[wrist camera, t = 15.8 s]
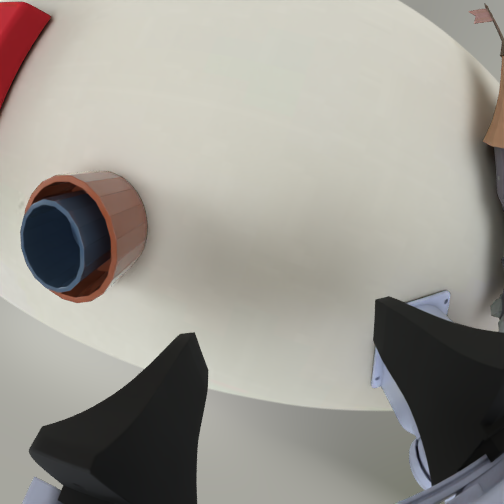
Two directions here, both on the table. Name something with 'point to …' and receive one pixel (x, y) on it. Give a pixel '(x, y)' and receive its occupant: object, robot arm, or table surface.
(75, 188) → the terracotta tumbler
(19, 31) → the red flat box
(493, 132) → the model tower
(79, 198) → the blue cup
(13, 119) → the table surface
